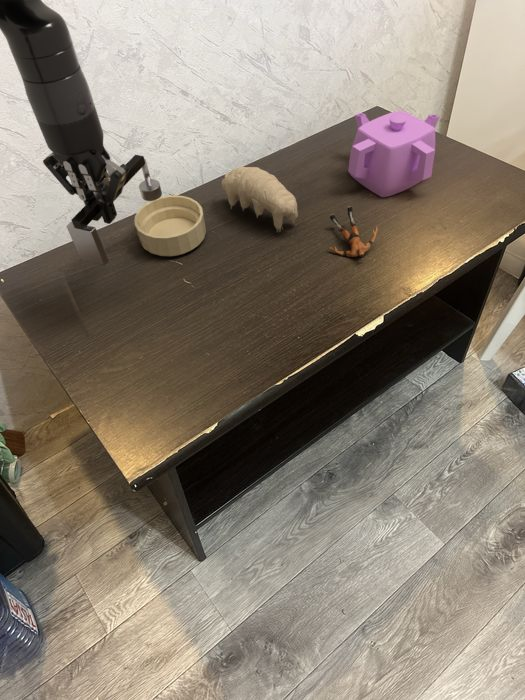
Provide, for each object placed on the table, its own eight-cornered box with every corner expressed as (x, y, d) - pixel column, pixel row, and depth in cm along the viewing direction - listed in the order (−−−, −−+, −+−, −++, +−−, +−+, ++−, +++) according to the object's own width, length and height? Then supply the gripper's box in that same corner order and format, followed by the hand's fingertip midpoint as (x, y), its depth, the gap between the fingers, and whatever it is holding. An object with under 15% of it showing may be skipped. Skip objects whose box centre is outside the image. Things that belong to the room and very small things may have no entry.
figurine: (363, 199, 92) (387, 243, 86) (365, 208, 94) (388, 251, 88) (317, 220, 93) (337, 265, 88) (319, 228, 95) (339, 272, 90)
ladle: (146, 187, 90) (135, 145, 84) (167, 191, 89) (158, 149, 82) (80, 259, 78) (62, 218, 72) (104, 266, 77) (87, 224, 71)
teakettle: (345, 196, 101) (350, 138, 92) (351, 151, 112) (356, 95, 102) (431, 202, 99) (446, 143, 89) (429, 155, 109) (443, 98, 99)
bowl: (155, 268, 91) (148, 246, 87) (131, 230, 98) (125, 209, 94) (217, 243, 94) (214, 222, 90) (190, 209, 101) (186, 188, 98)
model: (238, 192, 104) (233, 147, 96) (305, 225, 96) (306, 179, 89) (216, 208, 101) (209, 163, 93) (283, 243, 94) (282, 197, 86)
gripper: (125, 101, 64) (154, 213, 78) (39, 87, 68) (81, 197, 82) (92, 129, 60) (129, 243, 74) (2, 114, 64) (53, 224, 77)
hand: (104, 218), depth 78 cm, fingers closed on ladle
